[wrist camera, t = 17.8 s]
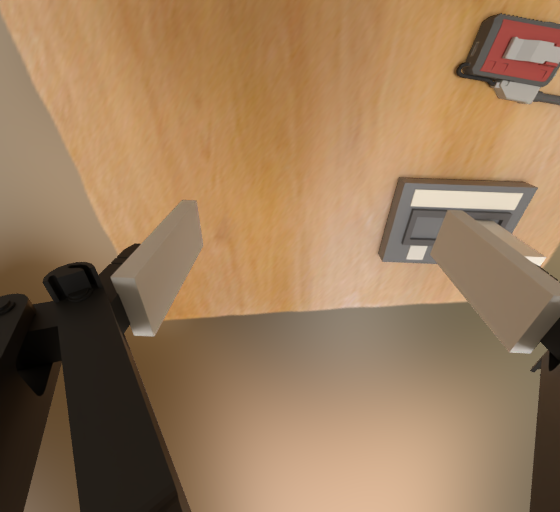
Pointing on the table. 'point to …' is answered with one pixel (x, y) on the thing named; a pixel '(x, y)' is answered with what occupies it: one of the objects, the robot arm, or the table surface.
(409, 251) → the switch box
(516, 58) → the walkie-talkie
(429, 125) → the table surface
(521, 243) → the lever
